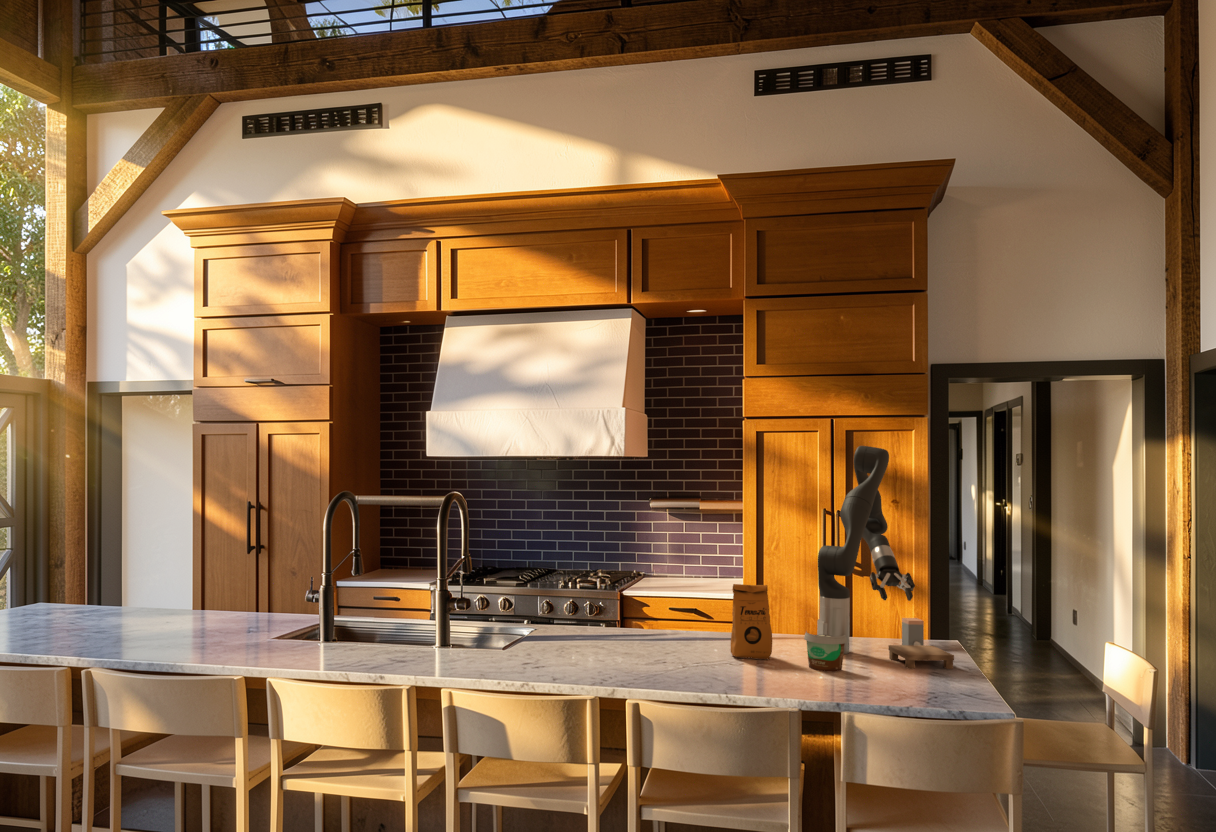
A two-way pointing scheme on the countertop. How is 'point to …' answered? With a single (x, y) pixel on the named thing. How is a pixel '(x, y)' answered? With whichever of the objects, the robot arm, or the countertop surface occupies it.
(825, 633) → the robot arm
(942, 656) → the walnut stand
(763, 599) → the coffee package
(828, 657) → the food container
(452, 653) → the countertop surface
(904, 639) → the block
